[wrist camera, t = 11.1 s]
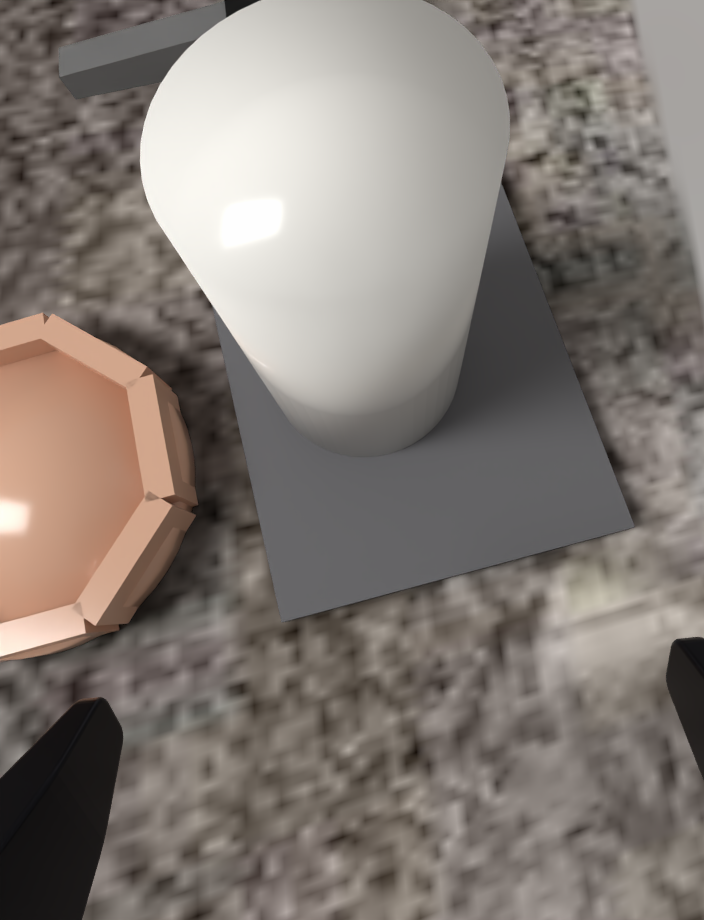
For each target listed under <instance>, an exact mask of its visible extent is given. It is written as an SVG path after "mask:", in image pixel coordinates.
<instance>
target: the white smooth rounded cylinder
mask: <svg viewBox="0 0 704 920" xmlns="http://www.w3.org/2000/svg"><path fill="white" fill-rule="evenodd" d="M509 139H510V114H509V107H508V100H507V95H506V92H505V89H504V86H503V82H502V79H501V76H500V74H499V72H498V70H497V68H496V66H495V64H494V62H493V60H492V59H491V57H490V56H489V54H488V53H487V52H486V50H485V49H484V47H483V46H482V45H481V43H480V42H479V41H478V40H477V39H476V38H475V37H474V36H473V35H472V34H471V33H470V32H469V30H468V29H467V28H466V27H464V26H463V25H462V24H461V23H459V22H458V21H457V20H455V19H454V18H453V17H452V16H450V15H449V14H447V13H445V12H444V11H442V10H440V9H439V8H437V7H435V6H434V5H432V4H430V3H427V2H425V1H423V0H261V1H258V2H256V3H254V4H252V5H249V6H247V7H245V8H243V9H241V10H239V11H237V12H235V13H234V14H232V15H230V16H229V17H227V18H225V19H224V20H222V21H220V22H219V23H218V24H216V25H215V26H214V27H212V28H211V29H210V30H208V31H207V32H206V33H204V34H203V35H202V36H201V37H200V38H198V39H197V40H196V41H195V42H194V43H193V44H192V45H191V46H190V47H189V48H188V49H187V50H186V51H185V52H184V53H183V54H182V55H181V57H180V58H179V59H178V60H177V61H176V63H175V64H174V65H173V66H172V67H171V69H170V70H169V72H168V73H167V75H166V76H165V78H164V79H163V81H162V83H161V84H160V86H159V88H158V90H157V92H156V94H155V96H154V98H153V100H152V102H151V105H150V108H149V111H148V114H147V117H146V120H145V123H144V128H143V133H142V139H141V151H140V165H141V174H142V182H143V186H144V190H145V193H146V197H147V201H148V203H149V205H150V207H151V209H152V212H153V214H154V216H155V218H156V220H157V222H158V223H159V225H160V226H161V228H162V229H163V231H164V232H165V234H166V235H167V237H168V238H169V240H170V241H171V243H172V244H173V246H174V247H175V249H176V250H177V252H178V254H179V255H180V257H181V258H182V260H183V261H184V263H185V264H186V266H187V267H188V269H189V270H190V272H191V273H192V275H193V276H194V278H195V279H196V281H197V282H198V284H199V285H200V287H201V288H202V290H203V291H204V293H205V294H206V296H207V297H208V299H209V301H210V302H211V304H212V305H213V307H214V308H215V310H216V311H217V313H218V314H219V316H220V317H221V319H222V320H223V322H224V323H225V325H226V326H227V328H228V329H229V331H230V332H231V334H232V335H233V337H234V338H235V340H236V341H237V343H238V344H239V346H240V348H241V349H242V351H243V352H244V354H245V355H246V357H247V358H248V360H249V361H250V363H251V364H252V366H253V367H254V369H255V370H256V372H257V373H258V375H259V376H260V378H261V379H262V381H263V382H264V384H265V385H266V387H267V388H268V390H269V392H270V393H271V395H272V396H273V398H274V399H275V401H276V402H277V404H278V405H279V407H280V408H281V410H282V411H283V413H284V414H285V416H286V417H287V419H288V420H289V422H290V423H291V424H292V425H293V427H294V428H295V429H296V430H297V431H298V432H299V433H300V434H301V435H303V436H304V437H305V438H306V439H307V440H309V441H311V442H312V443H314V444H315V445H317V446H319V447H321V448H323V449H325V450H327V451H330V452H333V453H337V454H340V455H345V456H351V457H375V456H381V455H386V454H390V453H393V452H396V451H399V450H402V449H404V448H406V447H408V446H410V445H412V444H414V443H415V442H417V441H418V440H420V439H421V438H423V437H424V436H425V435H426V434H428V433H429V432H430V431H431V430H432V429H433V428H434V427H435V426H436V425H437V424H438V423H439V421H440V420H441V419H442V418H443V416H444V415H445V413H446V412H447V410H448V408H449V406H450V404H451V402H452V400H453V398H454V395H455V392H456V389H457V385H458V380H459V376H460V371H461V366H462V362H463V357H464V352H465V348H466V343H467V338H468V334H469V329H470V324H471V320H472V315H473V310H474V306H475V301H476V296H477V292H478V287H479V282H480V278H481V273H482V268H483V264H484V259H485V254H486V250H487V245H488V240H489V236H490V231H491V226H492V222H493V217H494V212H495V208H496V203H497V198H498V194H499V189H500V184H501V180H502V175H503V170H504V166H505V161H506V156H507V150H508V144H509Z"/></svg>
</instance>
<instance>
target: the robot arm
mask: <svg viewBox="0 0 704 920" xmlns="http://www.w3.org/2000/svg"><path fill="white" fill-rule="evenodd" d="M666 682H667V687H668V690H669V693H670V696H671V698H672V701H673V703H674V706H675V708H676V711H677V713H678V716H679V719H680V721H681V724H682V726H683V729H684V731H685V734H686V736H687V739H688V742H689V744H690V747H691V749H692V752H693V754H694V757H695V759H696V762H697V765H698V767H699V770H700V772H701V775H702V777H703V780H704V638H701V637H692V638H683V639H676V640H675V641H674V642H673V643H672V646H671V650H670V656H669V661H668V667H667V672H666ZM122 744H123V731H122V727H121V725H120V723H119V721H118V720H117V718H116V716H115V714H114V712H113V710H112V709H111V707H110V705H109V703H108V702H107V700H106V699H104V698H101V697H98V698H88V699H81V700H79V701H77V702H76V703H74V704H73V705H72V706H71V707H70V708H69V709H68V710H67V711H66V712H65V713H64V714H63V715H62V716H61V717H60V718H59V719H58V720H57V721H56V722H55V723H54V724H53V725H52V726H51V727H50V728H49V730H48V731H47V732H46V733H45V734H44V735H43V736H42V737H41V738H40V739H39V740H38V741H37V742H36V743H35V744H34V745H33V746H32V747H31V748H30V749H29V750H28V751H27V752H26V753H25V754H24V755H23V756H22V757H21V758H20V759H19V760H18V761H17V762H16V763H15V764H14V765H13V766H12V767H11V768H10V769H9V770H8V771H7V772H6V773H5V774H4V775H3V776H2V777H1V778H0V920H82V918H83V914H84V911H85V907H86V904H87V900H88V897H89V893H90V890H91V886H92V883H93V879H94V876H95V872H96V869H97V865H98V862H99V859H100V855H101V851H102V847H103V843H104V839H105V835H106V830H107V825H108V820H109V814H110V809H111V804H112V798H113V793H114V788H115V782H116V777H117V771H118V766H119V761H120V755H121V750H122Z"/></svg>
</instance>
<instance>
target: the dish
mask: <svg viewBox="0 0 704 920" xmlns="http://www.w3.org/2000/svg"><path fill="white" fill-rule="evenodd" d="M171 390H172V388H171V387H170V386H169V385H167V384H166V383H165V382H164V381H163V380H162V379H161V378H160V377H158V376H157V375H156V374H155V373H154V372H153V371H152V370H151V369H149V368H148V367H147V366H145V365H144V364H142V363H140V362H138V361H137V360H135V359H133V358H132V357H130V356H129V355H127V354H126V353H124V352H123V351H121V350H120V349H118V348H117V347H115V346H113V345H111V344H109V343H106V342H104V341H102V340H100V339H97V338H95V337H93V336H92V335H90V334H88V333H86V332H84V331H83V330H81V329H79V328H77V327H75V326H74V325H72V324H70V323H68V322H66V321H65V320H63V319H61V318H59V317H57V316H56V315H54V314H52V315H51V316H50V317H48V316H46V315H45V314H44V313H40V314H37V315H34V316H30V317H27V318H23V319H20V320H16V321H13V322H10V323H6V324H3V325H0V662H4V661H8V660H16V659H24V658H31V657H38V656H44V655H49V654H54V653H59V652H63V651H65V650H68V649H71V648H74V647H77V646H80V645H82V644H84V643H86V642H89V641H91V640H93V639H95V638H97V637H99V636H101V635H104V634H107V633H111V632H115V631H118V630H119V624H128V623H129V621H130V620H131V618H132V617H133V615H134V614H135V612H136V610H137V609H138V607H139V606H140V605H141V604H142V603H143V601H144V600H145V599H146V598H147V597H148V596H149V595H150V594H151V593H152V592H153V591H154V589H155V588H156V586H157V585H158V584H159V582H160V581H161V579H162V578H163V577H164V575H165V574H166V572H167V571H168V569H169V567H170V565H171V564H172V562H173V560H174V558H175V556H176V555H177V553H178V551H179V548H180V546H181V543H182V541H183V538H184V536H185V533H186V531H187V529H188V528H189V526H190V525H191V523H192V521H193V520H194V518H195V517H196V515H195V514H193V513H192V507H194V506H197V505H198V501H197V495H196V490H195V462H194V454H193V447H192V443H191V440H190V436H189V432H188V429H187V426H186V424H185V422H184V419H183V417H182V414H181V412H180V407H179V402H178V397H177V395H176V394H175V393H173V392H172V391H171Z"/></svg>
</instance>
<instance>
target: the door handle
mask: <svg viewBox="0 0 704 920" xmlns="http://www.w3.org/2000/svg"><path fill="white" fill-rule="evenodd" d="M258 1H261V0H224V1H223V2H220V3H216V4H213V5H209V6H205V7H202V8H198V9H195V10H191V11H188V12H184V13H181V14H177V15H173V16H170V17H166V18H163V19H159V20H156V21H152V22H149V23H145V24H141V25H138V26H134V27H131V28H127V29H124V30H120V31H117V32H113V33H109V34H106V35H102V36H99V37H95V38H92V39H88V40H85V41H81V42H77V43H74V44H70V45H67V46H63V47H60V48H59V78H60V79H61V80H62V82H63V83H64V84H65V86H66V87H67V88H68V90H69V91H70V92H71V94H72V95H73V96H74V98H75V99H80V98H85V97H90V96H95V95H100V94H105V93H110V92H115V91H120V90H124V89H129V88H134V87H139V86H144V85H149V84H154V83H159V82H162V81H163V79H164V78H165V76H166V75H167V73H168V72H169V70H170V69H171V67H172V66H173V65H174V64H175V63H176V61H177V60H178V59H179V58H180V57H181V55H182V54H183V53H184V52H185V51H186V50H187V49H188V48H189V47H190V46H191V45H192V44H193V43H194V42H195V41H196V40H197V39H198V38H200V37H201V36H202V35H203V34H204V33H206V32H207V31H208V30H210V29H211V28H212V27H214V26H215V25H216V24H218V23H219V22H220V21H222V20H224V19H225V18H227V17H229V16H230V15H232V14H234V13H235V12H237V11H239V10H241V9H243V8H245V7H247V6H249V5H252V4H254V3H256V2H258Z"/></svg>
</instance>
